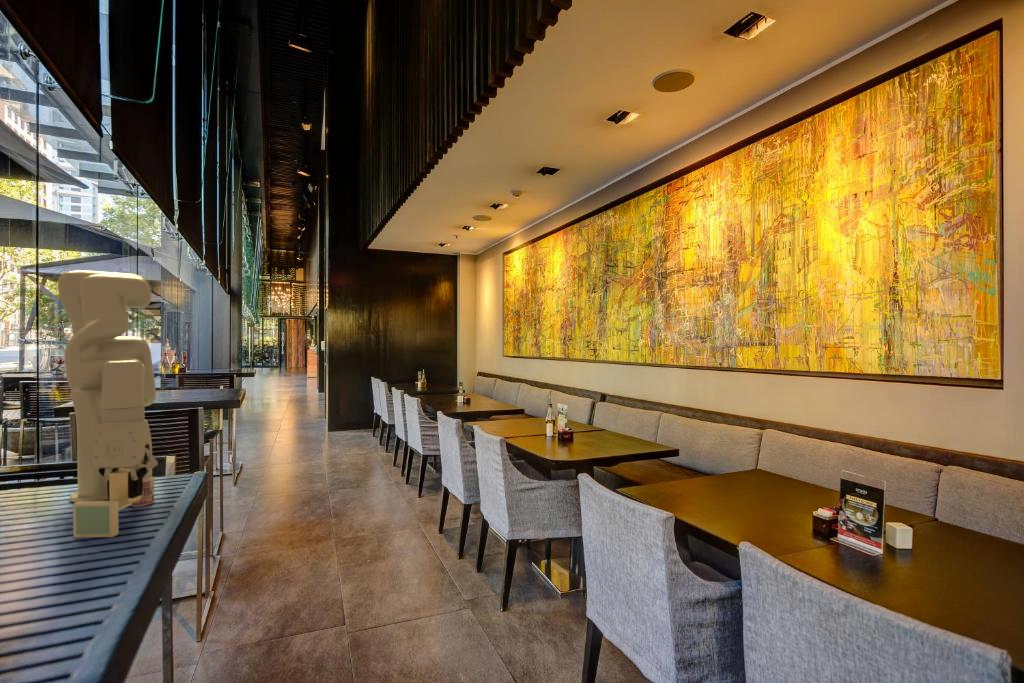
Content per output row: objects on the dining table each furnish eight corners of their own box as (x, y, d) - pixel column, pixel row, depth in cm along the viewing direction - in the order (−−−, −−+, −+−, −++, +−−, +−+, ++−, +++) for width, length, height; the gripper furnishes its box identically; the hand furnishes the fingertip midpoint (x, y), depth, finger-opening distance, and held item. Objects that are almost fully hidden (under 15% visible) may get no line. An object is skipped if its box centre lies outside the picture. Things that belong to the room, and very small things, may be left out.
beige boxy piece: (119, 499, 115) (119, 468, 115) (144, 498, 115) (144, 468, 115) (86, 513, 105) (85, 480, 105) (113, 512, 106) (112, 479, 105)
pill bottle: (141, 507, 121) (141, 473, 121) (125, 506, 122) (124, 472, 122) (159, 501, 126) (158, 467, 126) (143, 500, 127) (142, 467, 127)
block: (80, 534, 105) (79, 501, 105) (118, 533, 105) (118, 500, 105) (72, 537, 104) (72, 504, 104) (112, 537, 104) (111, 503, 104)
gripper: (71, 418, 108) (73, 503, 109) (150, 417, 109) (151, 501, 109) (99, 413, 116) (100, 492, 116) (172, 412, 116) (174, 491, 117)
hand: (125, 495), depth 113 cm, fingers closed on beige boxy piece, 4 cm apart
